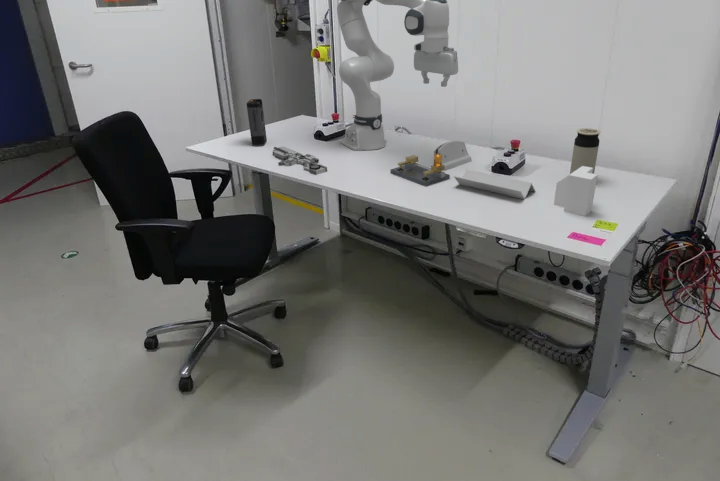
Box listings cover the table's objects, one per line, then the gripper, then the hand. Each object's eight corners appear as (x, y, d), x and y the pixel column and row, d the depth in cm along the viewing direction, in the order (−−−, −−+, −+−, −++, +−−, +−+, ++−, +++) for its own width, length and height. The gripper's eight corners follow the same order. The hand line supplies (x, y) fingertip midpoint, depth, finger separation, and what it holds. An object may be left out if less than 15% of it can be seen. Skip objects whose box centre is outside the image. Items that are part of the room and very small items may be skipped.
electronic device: (264, 146, 244) (258, 102, 235) (251, 146, 244) (245, 103, 235) (267, 140, 252) (262, 98, 243) (255, 141, 252) (249, 99, 243)
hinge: (444, 170, 203) (438, 145, 201) (436, 172, 207) (430, 147, 205) (472, 161, 212) (467, 136, 211) (463, 162, 216) (458, 138, 214)
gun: (254, 151, 230) (283, 142, 238) (255, 157, 232) (283, 148, 240) (306, 173, 202) (337, 162, 210) (307, 179, 203) (337, 169, 211)
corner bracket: (584, 216, 161) (591, 179, 155) (549, 207, 168) (554, 172, 162) (597, 205, 168) (604, 169, 162) (563, 197, 175) (568, 163, 169)
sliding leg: (421, 177, 192) (422, 157, 189) (438, 172, 196) (439, 152, 193) (427, 179, 190) (427, 159, 186) (444, 174, 194) (444, 154, 191)
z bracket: (464, 191, 194) (471, 177, 195) (528, 207, 179) (535, 191, 180) (453, 176, 185) (460, 161, 186) (520, 191, 170) (527, 174, 171)
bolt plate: (390, 173, 203) (390, 160, 201) (413, 166, 209) (413, 153, 207) (426, 186, 189) (426, 172, 186) (449, 178, 195) (450, 165, 193)
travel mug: (594, 184, 184) (603, 134, 176) (571, 183, 186) (578, 133, 177) (590, 176, 191) (598, 127, 183) (567, 176, 192) (574, 127, 184)
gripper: (463, 47, 185) (461, 87, 192) (423, 43, 200) (422, 80, 206) (450, 49, 182) (449, 89, 188) (411, 45, 197) (410, 82, 203)
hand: (434, 84), depth 197 cm, fingers open, 8 cm apart
